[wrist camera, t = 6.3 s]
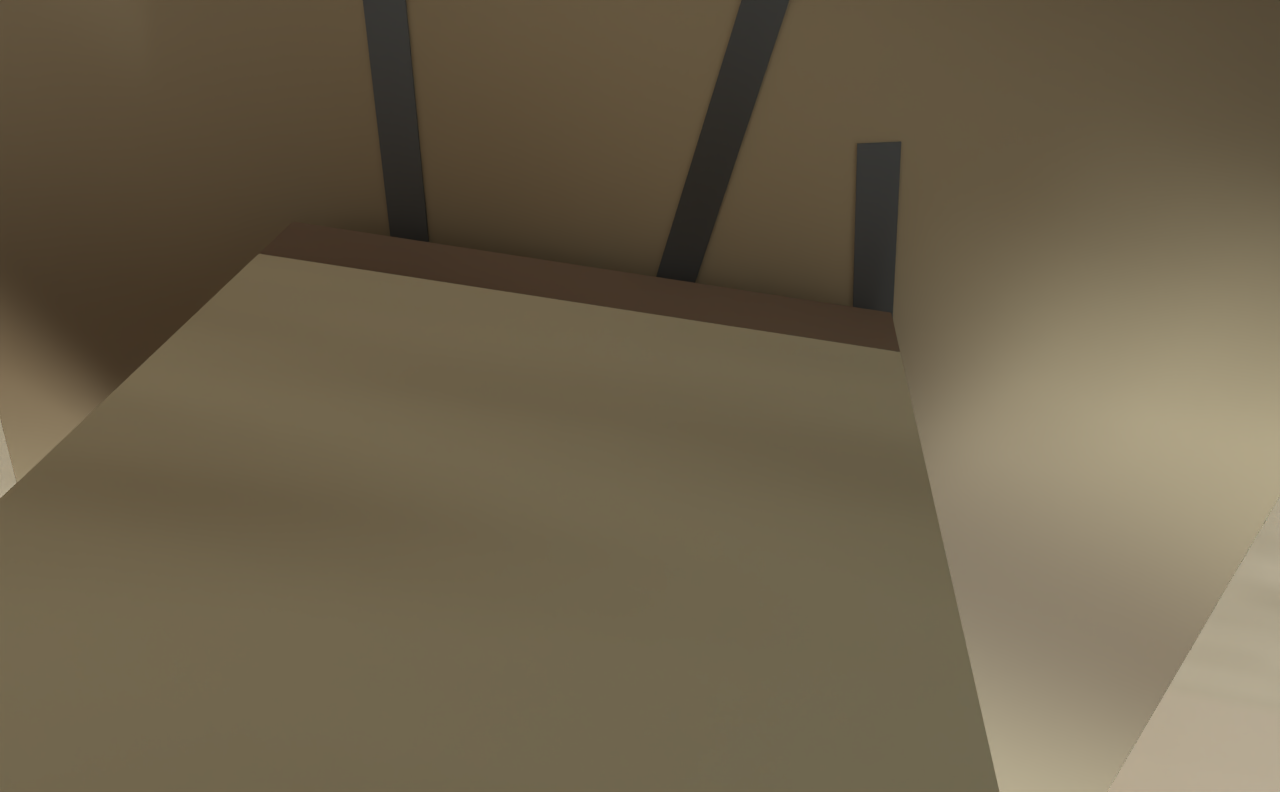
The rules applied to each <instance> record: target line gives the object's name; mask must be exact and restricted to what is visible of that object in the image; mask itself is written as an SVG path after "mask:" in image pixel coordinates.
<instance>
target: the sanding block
mask: <svg viewBox="0 0 1280 792" xmlns="http://www.w3.org/2000/svg"><path fill="white" fill-rule="evenodd" d="M0 792H999V787H998V783H997V778H996V774H995V770H994V765H993V761H992V756H991V752H990V747H989V743H988V739H987V734H986V730H985V725H984V721H983V717H982V712H981V708H980V703H979V699H978V694H977V690H976V686H975V681H974V677H973V672H972V668H971V663H970V659H969V655H968V650H967V646H966V641H965V637H964V632H963V628H962V624H961V619H960V615H959V610H958V606H957V601H956V597H955V593H954V588H953V584H952V579H951V575H950V571H949V566H948V562H947V557H946V553H945V548H944V544H943V540H942V535H941V531H940V526H939V522H938V517H937V513H936V509H935V504H934V500H933V495H932V491H931V486H930V482H929V478H928V473H927V469H926V464H925V460H924V455H923V451H922V447H921V442H920V438H919V433H918V429H917V425H916V420H915V416H914V411H913V407H912V402H911V398H910V394H909V389H908V385H907V380H906V376H905V371H904V367H903V363H902V358H901V354H900V349H899V345H898V340H897V336H896V332H895V327H894V323H893V318H892V314H891V313H890V312H883V311H877V310H870V309H864V308H857V307H851V306H844V305H838V304H831V303H824V302H818V301H811V300H805V299H798V298H792V297H785V296H778V295H772V294H765V293H759V292H752V291H746V290H739V289H732V288H726V287H719V286H713V285H706V284H700V283H693V282H687V281H680V280H673V279H667V278H660V277H654V276H647V275H641V274H634V273H627V272H621V271H614V270H608V269H601V268H595V267H588V266H581V265H575V264H568V263H562V262H555V261H549V260H542V259H535V258H529V257H522V256H516V255H509V254H503V253H496V252H490V251H483V250H476V249H470V248H463V247H457V246H450V245H444V244H437V243H430V242H424V241H417V240H411V239H404V238H398V237H391V236H384V235H378V234H371V233H365V232H358V231H352V230H345V229H339V228H332V227H325V226H319V225H312V224H306V223H299V222H292V223H291V224H289V225H288V226H287V227H286V228H285V229H284V230H283V231H282V232H281V233H280V234H279V235H278V236H277V237H276V238H275V239H274V240H273V241H272V242H271V243H269V244H268V245H267V246H266V247H265V248H264V249H263V250H262V251H261V252H260V253H259V254H258V255H257V256H256V257H255V258H254V259H253V260H252V261H250V262H249V263H248V264H247V265H246V266H245V267H244V268H243V269H242V270H241V271H240V272H239V273H238V274H237V275H236V276H235V277H234V278H233V279H231V280H230V281H229V282H228V283H227V284H226V285H225V286H224V287H223V288H222V289H221V290H220V291H219V292H218V293H217V294H216V295H215V296H214V297H212V298H211V299H210V300H209V301H208V302H207V303H206V304H205V305H204V306H203V307H202V308H201V309H200V310H199V311H198V312H197V313H196V314H195V315H194V316H192V317H191V318H190V319H189V320H188V321H187V322H186V323H185V324H184V325H183V326H182V327H181V328H180V329H179V330H178V331H177V332H176V333H175V334H173V335H172V336H171V337H170V338H169V339H168V340H167V341H166V342H165V343H164V344H163V345H162V346H161V347H160V348H159V349H158V350H157V351H156V352H154V353H153V354H152V355H151V356H150V357H149V358H148V359H147V360H146V361H145V362H144V363H143V364H142V365H141V366H140V367H139V368H138V369H137V370H135V371H134V372H133V373H132V374H131V375H130V376H129V377H128V378H127V379H126V380H125V381H124V382H123V383H122V384H121V385H120V386H119V387H118V388H117V389H115V390H114V391H113V392H112V393H111V394H110V395H109V396H108V397H107V398H106V399H105V400H104V401H103V402H102V403H101V404H100V405H99V406H98V407H96V408H95V409H94V410H93V411H92V412H91V413H90V414H89V415H88V416H87V417H86V418H85V419H84V420H83V421H82V422H81V423H80V424H79V425H77V426H76V427H75V428H74V429H73V430H72V431H71V432H70V433H69V434H68V435H67V436H66V437H65V438H64V439H63V440H62V441H61V442H60V443H58V444H57V445H56V446H55V447H54V448H53V449H52V450H51V451H50V452H49V453H48V454H47V455H46V456H45V457H44V458H43V459H42V460H41V461H40V462H38V463H37V464H36V465H35V466H34V467H33V468H32V469H31V470H30V471H29V472H28V473H27V474H26V475H25V476H24V477H23V478H22V479H21V480H19V481H18V482H17V483H16V484H15V485H14V486H13V487H12V488H11V489H10V490H9V491H8V492H7V493H6V494H5V495H4V496H3V497H2V498H0Z"/></svg>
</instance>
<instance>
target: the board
mask: <svg viewBox="0 0 1280 792" xmlns="http://www.w3.org/2000/svg"><path fill="white" fill-rule="evenodd" d="M292 222H299V223H306V224H312V225H319V226H325V227H332V228H339V229H345V230H352V231H358V232H365V233H371V234H378V235H384V236H391V237H398V238H404V239H411V240H417V241H424V242H430V243H437V244H444V245H450V246H457V247H463V248H470V249H476V250H483V251H490V252H496V253H503V254H509V255H516V256H522V257H529V258H535V259H542V260H549V261H555V262H562V263H568V264H575V265H581V266H588V267H595V268H601V269H608V270H614V271H621V272H627V273H634V274H641V275H647V276H654V277H660V278H667V279H673V280H680V281H687V282H693V283H700V284H706V285H713V286H719V287H726V288H732V289H739V290H746V291H752V292H759V293H765V294H772V295H778V296H785V297H792V298H798V299H805V300H811V301H818V302H824V303H831V304H838V305H844V306H851V307H857V308H864V309H870V310H877V311H883V312H890V313H891V314H892V318H893V323H894V327H895V332H896V336H897V340H898V345H899V349H900V354H901V358H902V363H903V367H904V371H905V376H906V380H907V385H908V389H909V394H910V398H911V402H912V407H913V411H914V416H915V420H916V425H917V429H918V433H919V438H920V442H921V447H922V451H923V455H924V460H925V464H926V469H927V473H928V478H929V482H930V486H931V491H932V495H933V500H934V504H935V509H936V513H937V517H938V522H939V526H940V531H941V535H942V540H943V544H944V548H945V553H946V557H947V562H948V566H949V571H950V575H951V579H952V584H953V588H954V593H955V597H956V601H957V606H958V610H959V615H960V619H961V624H962V628H963V632H964V637H965V641H966V646H967V650H968V655H969V659H970V663H971V668H972V672H973V677H974V681H975V686H976V690H977V694H978V699H979V703H980V708H981V712H982V717H983V721H984V725H985V730H986V734H987V739H988V743H989V747H990V752H991V756H992V761H993V765H994V770H995V774H996V778H997V783H998V787H999V792H1108V790H1109V788H1110V786H1111V785H1112V783H1113V781H1114V780H1115V778H1116V776H1117V774H1118V773H1119V771H1120V769H1121V768H1122V766H1123V764H1124V762H1125V761H1126V759H1127V757H1128V756H1129V754H1130V752H1131V750H1132V749H1133V747H1134V745H1135V744H1136V742H1137V740H1138V738H1139V737H1140V735H1141V733H1142V732H1143V730H1144V728H1145V726H1146V725H1147V723H1148V721H1149V720H1150V718H1151V716H1152V714H1153V713H1154V711H1155V709H1156V708H1157V706H1158V704H1159V702H1160V701H1161V699H1162V697H1163V696H1164V694H1165V692H1166V690H1167V689H1168V687H1169V685H1170V684H1171V682H1172V680H1173V678H1174V677H1175V675H1176V673H1177V672H1178V670H1179V668H1180V666H1181V665H1182V663H1183V661H1184V660H1185V658H1186V656H1187V654H1188V653H1189V651H1190V649H1191V648H1192V646H1193V644H1194V642H1195V641H1196V639H1197V637H1198V636H1199V634H1200V632H1201V630H1202V629H1203V627H1204V625H1205V624H1206V622H1207V620H1208V618H1209V617H1210V615H1211V613H1212V612H1213V610H1214V608H1215V606H1216V605H1217V603H1218V601H1219V600H1220V598H1221V596H1222V594H1223V593H1224V591H1225V589H1226V588H1227V586H1228V584H1229V582H1230V581H1231V579H1232V577H1233V576H1234V574H1235V572H1236V570H1237V569H1238V567H1239V565H1240V564H1241V562H1242V560H1243V558H1244V557H1245V555H1246V553H1247V552H1248V550H1249V548H1250V546H1251V545H1252V543H1253V541H1254V540H1255V538H1256V536H1257V534H1258V533H1259V531H1260V529H1261V528H1262V526H1263V524H1264V522H1265V521H1266V519H1267V517H1268V516H1269V514H1270V512H1271V510H1272V509H1273V507H1274V505H1275V504H1276V502H1277V500H1278V498H1279V497H1280V0H0V419H1V423H2V427H3V431H4V435H5V439H6V443H7V447H8V451H9V454H10V458H11V462H12V466H13V470H14V474H15V478H16V482H18V481H19V480H21V479H22V478H23V477H24V476H25V475H26V474H27V473H28V472H29V471H30V470H31V469H32V468H33V467H34V466H35V465H36V464H37V463H38V462H40V461H41V460H42V459H43V458H44V457H45V456H46V455H47V454H48V453H49V452H50V451H51V450H52V449H53V448H54V447H55V446H56V445H57V444H58V443H60V442H61V441H62V440H63V439H64V438H65V437H66V436H67V435H68V434H69V433H70V432H71V431H72V430H73V429H74V428H75V427H76V426H77V425H79V424H80V423H81V422H82V421H83V420H84V419H85V418H86V417H87V416H88V415H89V414H90V413H91V412H92V411H93V410H94V409H95V408H96V407H98V406H99V405H100V404H101V403H102V402H103V401H104V400H105V399H106V398H107V397H108V396H109V395H110V394H111V393H112V392H113V391H114V390H115V389H117V388H118V387H119V386H120V385H121V384H122V383H123V382H124V381H125V380H126V379H127V378H128V377H129V376H130V375H131V374H132V373H133V372H134V371H135V370H137V369H138V368H139V367H140V366H141V365H142V364H143V363H144V362H145V361H146V360H147V359H148V358H149V357H150V356H151V355H152V354H153V353H154V352H156V351H157V350H158V349H159V348H160V347H161V346H162V345H163V344H164V343H165V342H166V341H167V340H168V339H169V338H170V337H171V336H172V335H173V334H175V333H176V332H177V331H178V330H179V329H180V328H181V327H182V326H183V325H184V324H185V323H186V322H187V321H188V320H189V319H190V318H191V317H192V316H194V315H195V314H196V313H197V312H198V311H199V310H200V309H201V308H202V307H203V306H204V305H205V304H206V303H207V302H208V301H209V300H210V299H211V298H212V297H214V296H215V295H216V294H217V293H218V292H219V291H220V290H221V289H222V288H223V287H224V286H225V285H226V284H227V283H228V282H229V281H230V280H231V279H233V278H234V277H235V276H236V275H237V274H238V273H239V272H240V271H241V270H242V269H243V268H244V267H245V266H246V265H247V264H248V263H249V262H250V261H252V260H253V259H254V258H255V257H256V256H257V255H258V254H259V253H260V252H261V251H262V250H263V249H264V248H265V247H266V246H267V245H268V244H269V243H271V242H272V241H273V240H274V239H275V238H276V237H277V236H278V235H279V234H280V233H281V232H282V231H283V230H284V229H285V228H286V227H287V226H288V225H289V224H291V223H292Z"/></svg>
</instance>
